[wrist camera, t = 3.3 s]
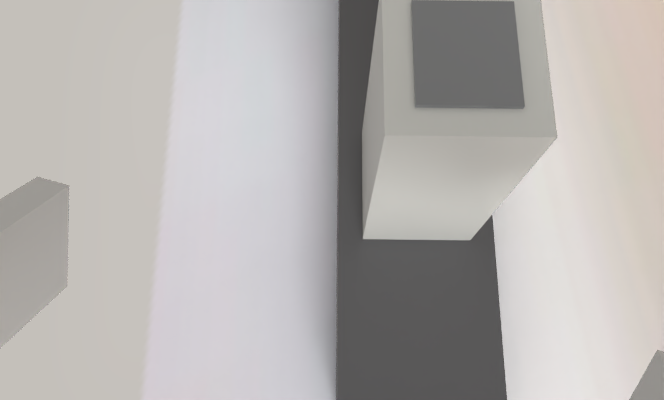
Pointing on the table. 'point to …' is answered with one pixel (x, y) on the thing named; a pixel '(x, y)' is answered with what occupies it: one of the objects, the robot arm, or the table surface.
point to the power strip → (405, 276)
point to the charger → (452, 114)
